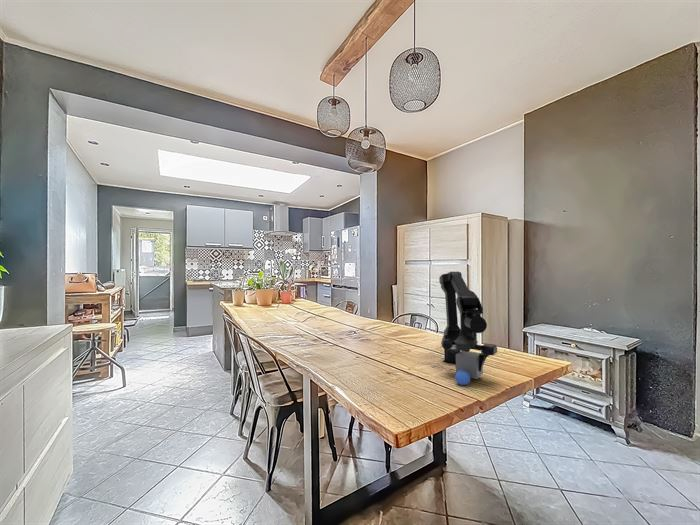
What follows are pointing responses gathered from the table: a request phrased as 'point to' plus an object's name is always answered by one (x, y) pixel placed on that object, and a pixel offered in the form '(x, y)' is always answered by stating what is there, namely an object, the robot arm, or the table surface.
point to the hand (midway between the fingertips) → (469, 369)
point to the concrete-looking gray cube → (469, 363)
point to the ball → (462, 377)
